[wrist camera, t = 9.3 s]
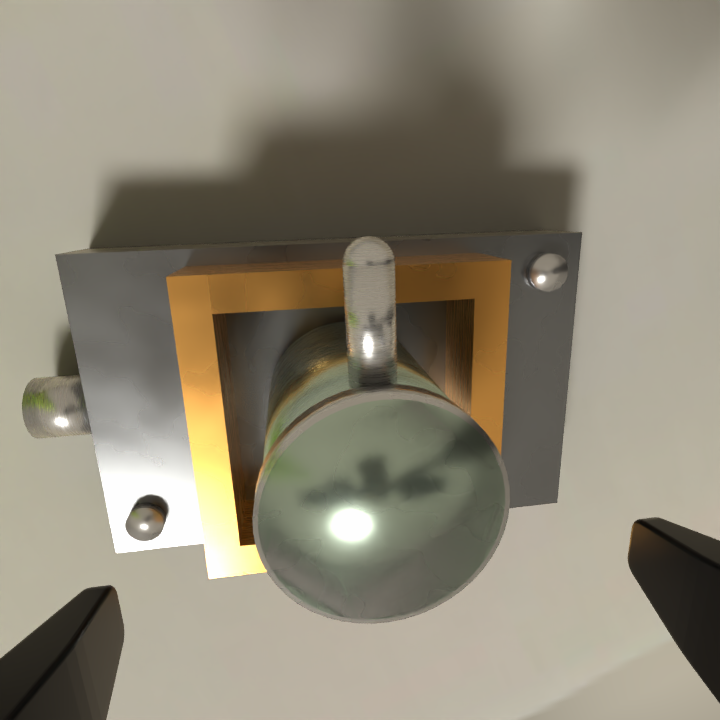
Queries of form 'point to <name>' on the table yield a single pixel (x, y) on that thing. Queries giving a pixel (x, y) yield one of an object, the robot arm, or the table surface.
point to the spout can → (372, 467)
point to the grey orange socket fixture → (266, 346)
